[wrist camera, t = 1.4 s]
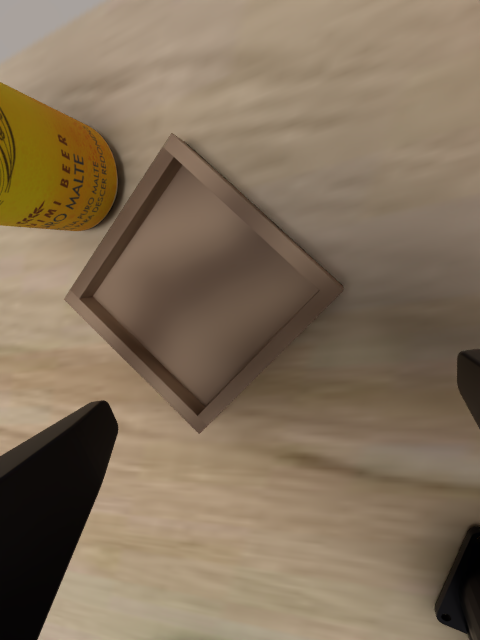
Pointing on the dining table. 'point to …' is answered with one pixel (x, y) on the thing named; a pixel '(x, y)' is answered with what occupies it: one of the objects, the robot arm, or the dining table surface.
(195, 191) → the tray
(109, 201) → the beer can
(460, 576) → the robot arm
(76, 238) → the dining table surface
